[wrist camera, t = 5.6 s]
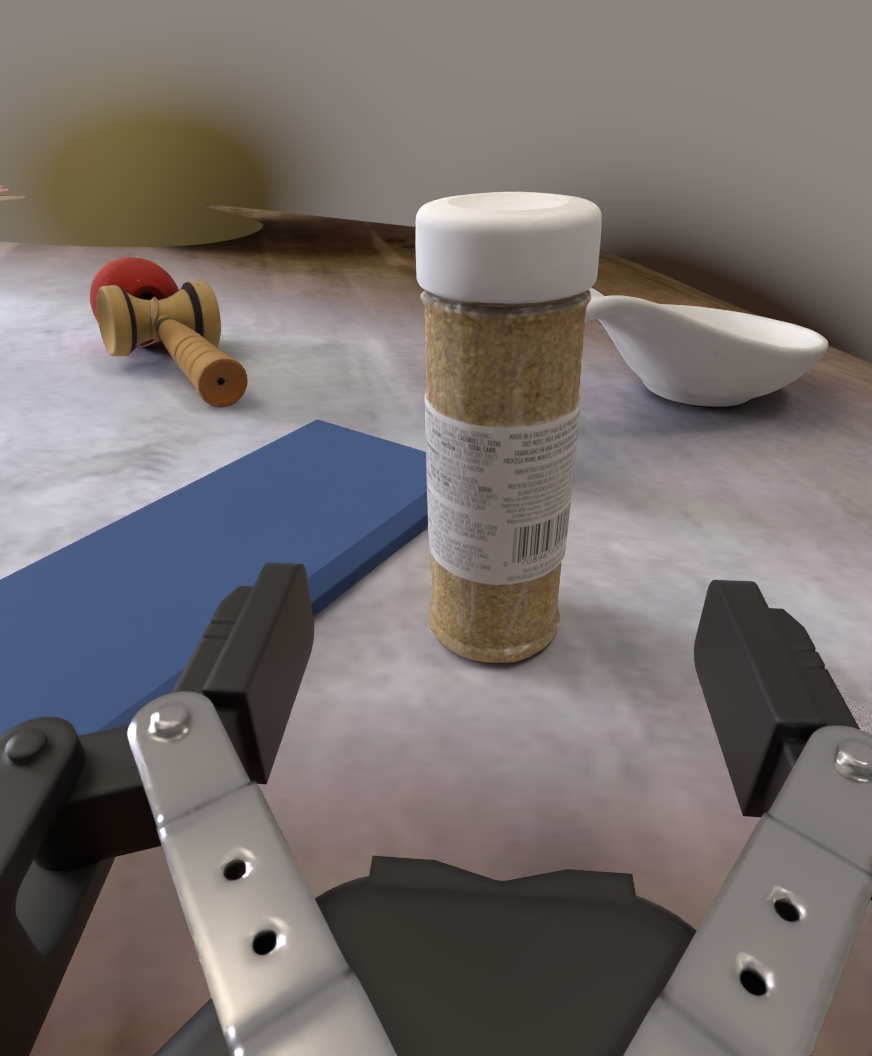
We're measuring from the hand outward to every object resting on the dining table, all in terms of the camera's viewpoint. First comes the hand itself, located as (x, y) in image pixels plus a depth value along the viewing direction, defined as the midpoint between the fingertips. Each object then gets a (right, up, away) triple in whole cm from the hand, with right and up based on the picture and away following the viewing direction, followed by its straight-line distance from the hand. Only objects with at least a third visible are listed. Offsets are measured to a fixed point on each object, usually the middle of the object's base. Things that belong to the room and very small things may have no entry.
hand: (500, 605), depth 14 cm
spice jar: (+1, -2, +10) cm, 10 cm away
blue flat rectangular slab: (-10, 0, +13) cm, 17 cm away
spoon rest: (+10, +8, +25) cm, 28 cm away
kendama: (-19, +12, +33) cm, 40 cm away
